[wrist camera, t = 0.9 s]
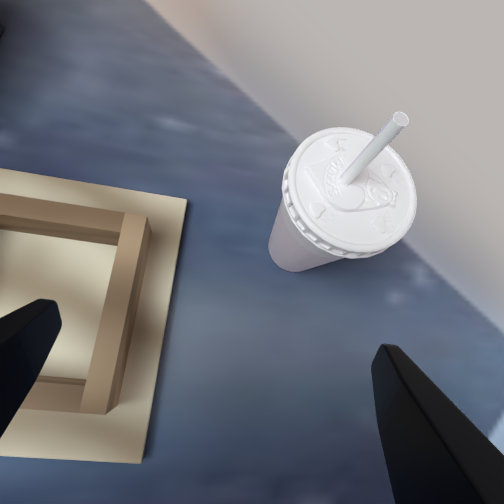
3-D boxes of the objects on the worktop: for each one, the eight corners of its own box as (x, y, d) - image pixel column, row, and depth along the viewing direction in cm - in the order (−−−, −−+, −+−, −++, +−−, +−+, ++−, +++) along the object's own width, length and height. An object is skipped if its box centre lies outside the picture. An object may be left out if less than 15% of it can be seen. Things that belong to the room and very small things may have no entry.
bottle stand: (142, 459, 19) (131, 484, 15) (-139, 442, 17) (-226, 467, 14) (186, 204, 24) (186, 178, 20) (-30, 168, 22) (-73, 133, 18)
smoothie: (263, 195, 25) (345, 22, 12) (342, 222, 26) (504, 86, 12) (238, 274, 23) (305, 173, 10) (325, 302, 24) (498, 241, 10)
